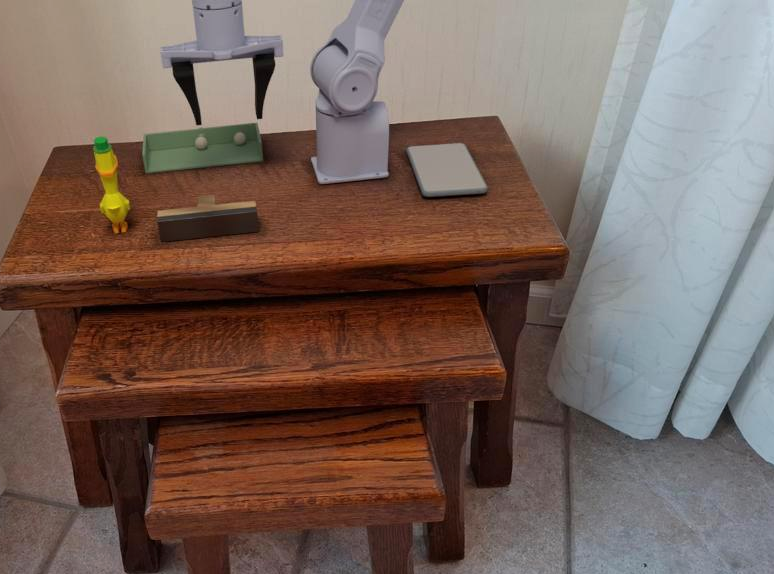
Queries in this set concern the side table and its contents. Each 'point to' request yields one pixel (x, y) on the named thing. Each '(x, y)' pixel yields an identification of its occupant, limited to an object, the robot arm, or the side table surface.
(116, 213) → the toy figure
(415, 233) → the side table surface
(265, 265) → the side table surface
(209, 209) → the brush
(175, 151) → the dustpan
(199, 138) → the crumb
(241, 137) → the crumb
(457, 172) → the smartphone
